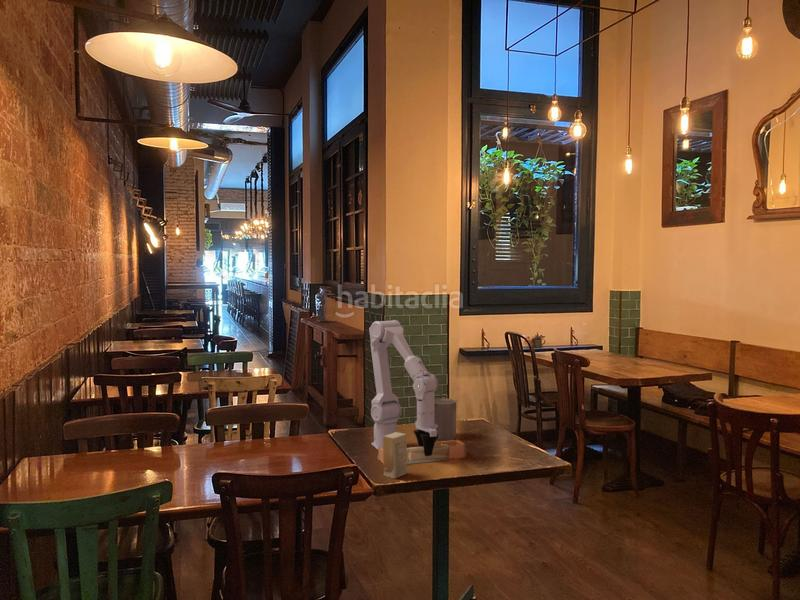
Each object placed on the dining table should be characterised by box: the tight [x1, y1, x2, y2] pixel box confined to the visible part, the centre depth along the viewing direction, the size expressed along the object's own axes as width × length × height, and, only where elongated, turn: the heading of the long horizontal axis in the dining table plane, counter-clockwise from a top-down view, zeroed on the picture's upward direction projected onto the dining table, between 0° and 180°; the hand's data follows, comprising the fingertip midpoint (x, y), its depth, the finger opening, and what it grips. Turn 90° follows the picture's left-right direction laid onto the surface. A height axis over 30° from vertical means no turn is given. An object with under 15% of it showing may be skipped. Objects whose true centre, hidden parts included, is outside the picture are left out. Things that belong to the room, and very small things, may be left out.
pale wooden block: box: [407, 444, 448, 461], centre depth 204 cm, size 4×14×4 cm, turn 108°
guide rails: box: [376, 455, 449, 465], centre depth 202 cm, size 9×21×1 cm, turn 109°
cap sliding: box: [377, 447, 384, 465], centre depth 200 cm, size 7×6×4 cm
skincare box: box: [383, 431, 408, 480], centre depth 185 cm, size 6×4×12 cm
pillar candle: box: [434, 396, 457, 441], centre depth 230 cm, size 10×10×15 cm
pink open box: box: [440, 439, 467, 460], centre depth 207 cm, size 7×6×4 cm
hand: (425, 453), depth 203 cm, fingers closed on pale wooden block, 4 cm apart
